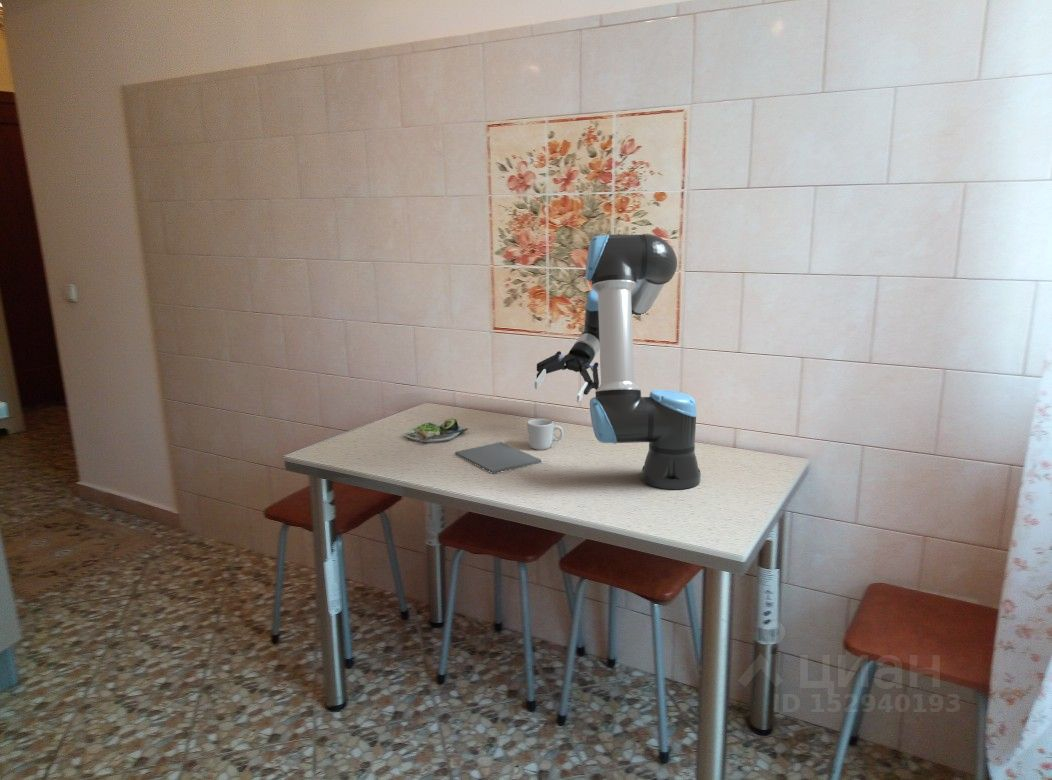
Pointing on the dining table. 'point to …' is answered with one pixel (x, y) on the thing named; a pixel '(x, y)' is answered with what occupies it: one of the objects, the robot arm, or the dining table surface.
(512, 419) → the dining table surface
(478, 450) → the mat
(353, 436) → the dining table surface
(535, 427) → the cup
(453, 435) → the avocado toast plate
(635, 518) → the dining table surface
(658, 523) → the dining table surface
